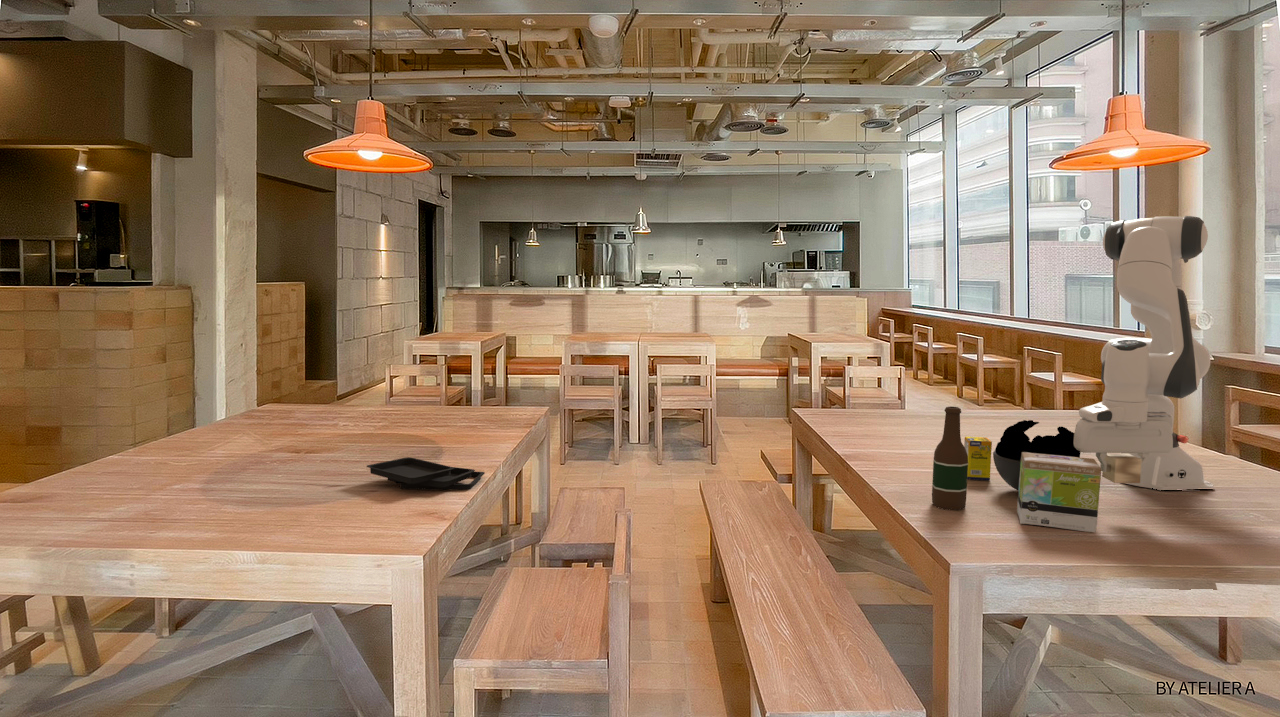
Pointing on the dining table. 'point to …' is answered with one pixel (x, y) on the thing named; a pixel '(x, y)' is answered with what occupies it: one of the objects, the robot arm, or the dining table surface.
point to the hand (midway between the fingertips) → (1121, 471)
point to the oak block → (1123, 468)
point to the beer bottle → (950, 465)
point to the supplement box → (978, 457)
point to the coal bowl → (1028, 449)
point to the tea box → (1059, 491)
